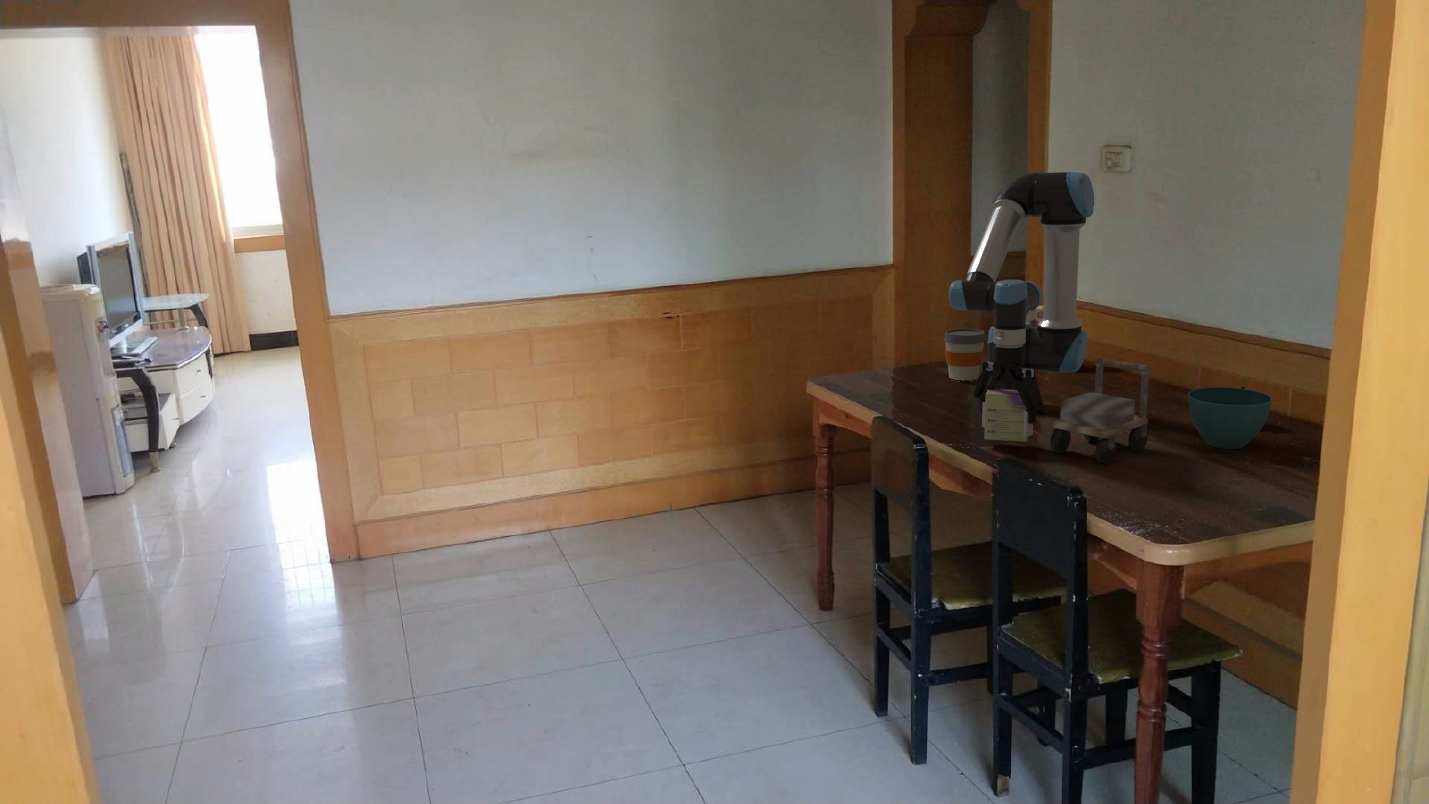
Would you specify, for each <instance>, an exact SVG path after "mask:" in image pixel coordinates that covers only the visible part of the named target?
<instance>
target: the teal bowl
mask: <svg viewBox="0 0 1429 804" xmlns="http://www.w3.org/2000/svg"><path fill="white" fill-rule="evenodd" d="M1187 402H1188V403H1187V405H1188V411H1189V413H1190V414H1189V415H1190V418H1191V421H1192V423H1193V425H1194V428H1195V429H1196V431H1197V432H1198V434H1199V435H1200V437H1201V438H1202V439H1203V440H1204V442H1205V443H1206V444H1207V445H1208V446H1210V447H1213V448H1217V449H1225V450H1235V449H1237V448H1239V449H1242V448H1244V447H1246V446H1247V445H1249V443H1250V442H1251V441H1253V439H1255V437H1256V436H1257V435H1258V434H1259V433H1260V431H1261V430H1262V428H1263V426H1264V425H1265V423H1266V421H1267V419H1268V417H1269V414H1270V412H1271V407H1272V404H1273V403H1272V402H1273V397H1272V396H1271V395H1269V394H1267V393H1264V392H1263V391H1262V392H1261V391H1258V390H1254V389H1247V388H1245V389H1242V388H1241V387H1229V386H1228V387H1227V386H1223V387H1222V386H1217V387H1216V386H1210V387H1202V388H1195V389H1192V390H1190V391H1189V392H1188V393H1187ZM1237 450H1238V449H1237Z"/></svg>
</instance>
